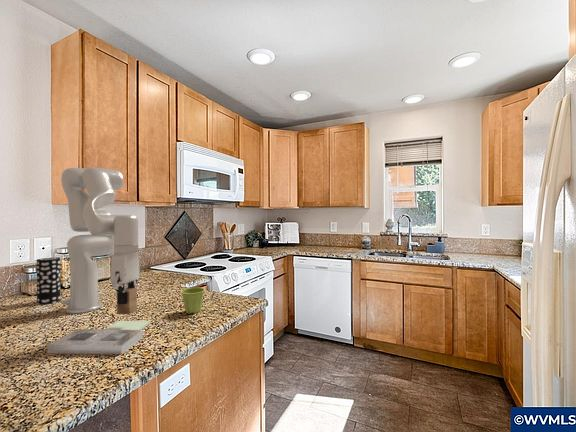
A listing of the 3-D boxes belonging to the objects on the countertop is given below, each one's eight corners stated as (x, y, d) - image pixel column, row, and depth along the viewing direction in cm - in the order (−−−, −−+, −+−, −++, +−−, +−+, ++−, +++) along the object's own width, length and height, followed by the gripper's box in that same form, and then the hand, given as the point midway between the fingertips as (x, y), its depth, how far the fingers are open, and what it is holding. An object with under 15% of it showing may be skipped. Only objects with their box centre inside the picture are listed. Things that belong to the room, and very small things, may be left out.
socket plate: (47, 353, 82) (47, 344, 82) (77, 336, 93) (77, 329, 93) (121, 354, 81) (121, 345, 81) (142, 337, 92) (142, 329, 92)
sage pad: (101, 333, 96) (101, 330, 96) (118, 323, 105) (118, 320, 105) (136, 333, 95) (136, 331, 95) (150, 323, 104) (150, 321, 104)
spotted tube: (32, 303, 129) (32, 259, 129) (53, 298, 136) (53, 257, 136) (43, 305, 126) (43, 260, 126) (64, 300, 133) (64, 258, 133)
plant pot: (191, 316, 111) (191, 294, 111) (176, 312, 116) (176, 291, 116) (209, 310, 119) (209, 289, 119) (194, 306, 124) (194, 286, 124)
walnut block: (117, 314, 98) (116, 291, 98) (124, 310, 102) (124, 287, 102) (129, 314, 98) (129, 291, 98) (136, 310, 102) (136, 287, 102)
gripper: (130, 247, 108) (130, 295, 108) (99, 253, 92) (99, 309, 92) (149, 247, 108) (149, 295, 108) (121, 252, 91) (122, 309, 91)
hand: (126, 301), depth 100 cm, fingers closed on walnut block, 4 cm apart
